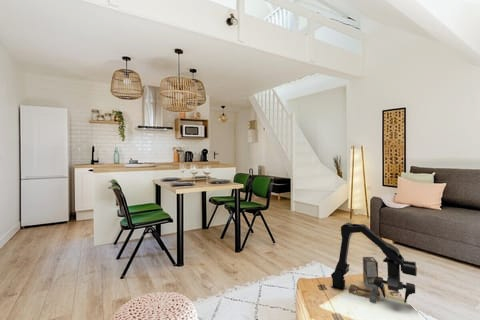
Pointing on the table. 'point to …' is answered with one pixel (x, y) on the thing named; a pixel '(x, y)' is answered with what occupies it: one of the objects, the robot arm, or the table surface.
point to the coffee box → (369, 271)
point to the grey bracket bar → (374, 294)
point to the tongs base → (361, 289)
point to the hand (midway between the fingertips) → (394, 300)
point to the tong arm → (362, 293)
